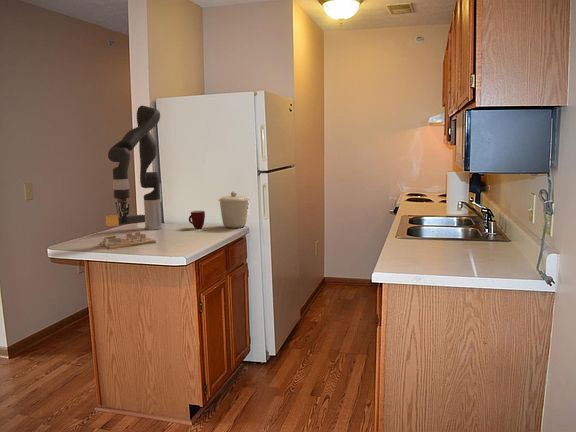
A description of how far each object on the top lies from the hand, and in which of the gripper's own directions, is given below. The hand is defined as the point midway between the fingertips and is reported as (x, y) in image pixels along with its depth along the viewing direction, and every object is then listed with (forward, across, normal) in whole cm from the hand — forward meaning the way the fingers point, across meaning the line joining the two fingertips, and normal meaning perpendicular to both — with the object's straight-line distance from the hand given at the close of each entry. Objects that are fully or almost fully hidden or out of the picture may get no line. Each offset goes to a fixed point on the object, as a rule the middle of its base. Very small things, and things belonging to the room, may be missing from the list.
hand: (123, 222), depth 251 cm
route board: (+11, 0, +2) cm, 11 cm away
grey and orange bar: (+1, 0, +2) cm, 2 cm away
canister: (+11, -8, +69) cm, 70 cm away
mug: (+11, -18, +49) cm, 53 cm away
